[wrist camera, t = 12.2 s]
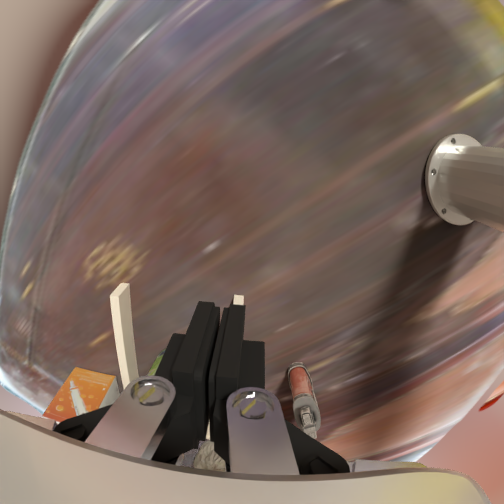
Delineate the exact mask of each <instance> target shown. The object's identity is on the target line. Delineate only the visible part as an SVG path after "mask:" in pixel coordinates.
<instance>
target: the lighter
mask: <svg viewBox="0 0 504 504" xmlns="http://www.w3.org/2000/svg"><path fill="white" fill-rule="evenodd" d="M288 380H289V385H290V389H291V391H292V396H293V411H294V416H295V420H296V422H297V424H298V426H299V428H300V429H301V430H302V431H303V432H304V433H306V434H307V435H309V436H310V437H312V438H313V439H314V438H316V437H317V436H316V431H317V430H318V429H319V428H320V421H321V420H320V412H319V409H318V405H317V400H316V396H315V394H314V391H313V385H312V380H311V377H310V374H309V372H308V370H307V368H306V366H305V365H304V364H303V363H301V362H296V363H293V364H291V365H290V366H289V367H288Z"/></svg>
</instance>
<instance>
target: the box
mask: <svg viewBox="0 0 504 504" xmlns="http://www.w3.org/2000/svg"><path fill="white" fill-rule="evenodd" d="M243 300H244V296H241V295H234V302H233V304H236V305H243ZM110 301H111V310H112V319H113V327H114V334H115V341H116V348H117V354H118V360H119V366H120V372H121V377H122V383H123V388H124V389H125V388H126V387H127V385H128V384H129V383H130V382H131V381H133V380H134V379H136V378H138V377H139V375H138V368H137V360H136V352H135V343H134V334H133V324H132V313H131V300H130V285H129V284H127V283H121V284H120V285H119V286H118V287H117V288H116V289H115V290H114V291H113V293H112V294H111V295H110ZM206 439H210V423H209V424H208V430H207V435H206Z"/></svg>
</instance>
